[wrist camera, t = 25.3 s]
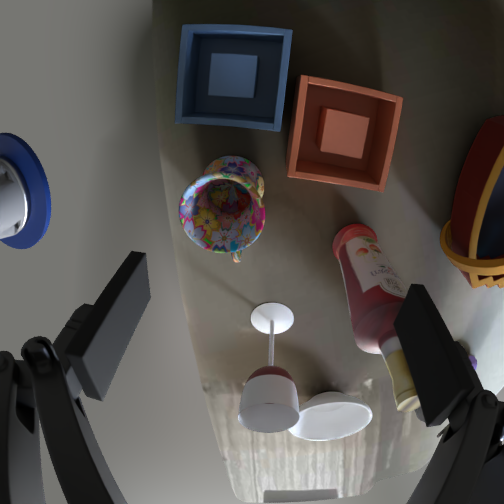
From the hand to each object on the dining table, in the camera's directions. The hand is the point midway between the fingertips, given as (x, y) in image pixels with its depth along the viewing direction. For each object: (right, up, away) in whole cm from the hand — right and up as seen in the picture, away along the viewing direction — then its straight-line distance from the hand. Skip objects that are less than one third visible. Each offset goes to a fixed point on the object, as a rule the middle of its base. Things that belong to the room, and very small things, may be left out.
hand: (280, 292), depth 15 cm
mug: (-4, +10, +28) cm, 30 cm away
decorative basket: (+41, +13, +23) cm, 49 cm away
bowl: (+17, -33, +52) cm, 64 cm away
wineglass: (+2, -10, +39) cm, 40 cm away
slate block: (-3, +23, +19) cm, 30 cm away
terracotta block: (+9, +18, +21) cm, 29 cm away
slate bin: (-3, +24, +20) cm, 31 cm away
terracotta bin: (+9, +18, +22) cm, 30 cm away
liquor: (+14, +4, +30) cm, 34 cm away
